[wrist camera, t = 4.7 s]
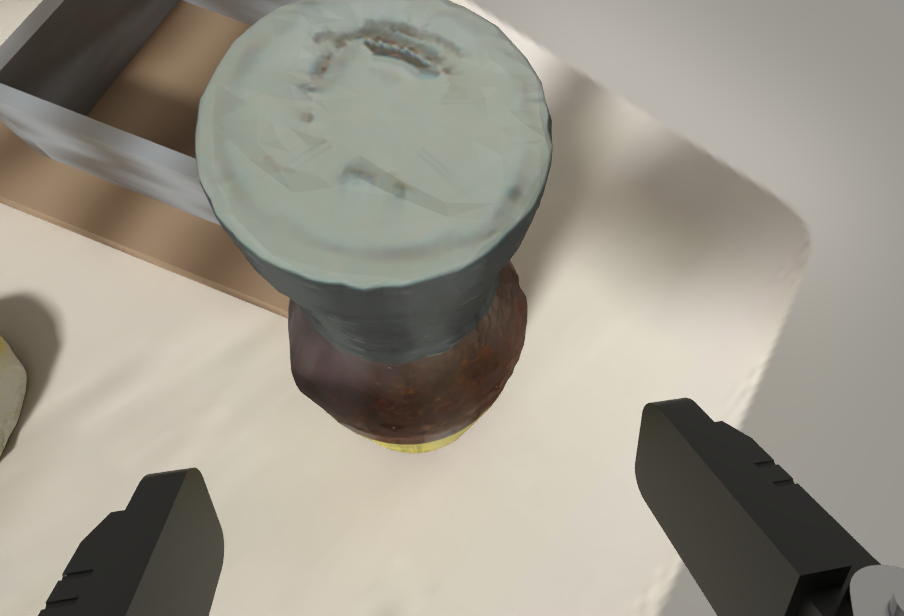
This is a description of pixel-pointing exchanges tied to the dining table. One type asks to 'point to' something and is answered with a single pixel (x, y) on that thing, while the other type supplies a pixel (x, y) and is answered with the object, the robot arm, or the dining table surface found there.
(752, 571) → the robot arm
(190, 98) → the bottle stand
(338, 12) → the sauce bottle
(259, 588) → the dining table surface
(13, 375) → the bread roll
